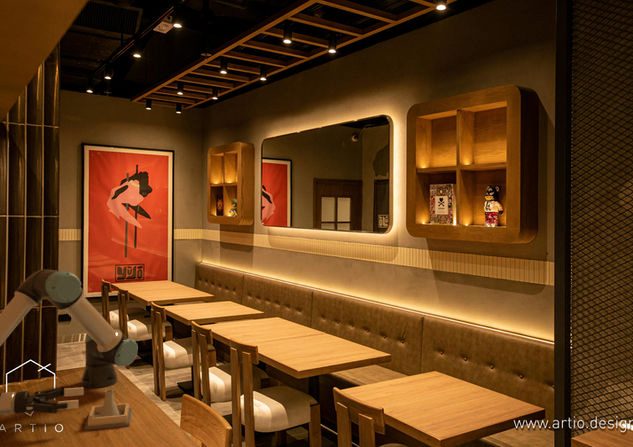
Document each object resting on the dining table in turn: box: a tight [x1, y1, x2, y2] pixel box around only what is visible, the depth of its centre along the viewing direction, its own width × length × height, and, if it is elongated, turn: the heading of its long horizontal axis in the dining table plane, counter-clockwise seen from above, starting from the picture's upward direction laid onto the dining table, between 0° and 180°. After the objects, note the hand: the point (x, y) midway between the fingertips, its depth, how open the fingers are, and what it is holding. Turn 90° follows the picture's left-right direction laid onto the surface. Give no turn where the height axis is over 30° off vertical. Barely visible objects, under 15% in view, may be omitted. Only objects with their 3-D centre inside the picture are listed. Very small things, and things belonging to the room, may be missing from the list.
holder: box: [84, 402, 133, 431], centre depth 194 cm, size 15×15×4 cm
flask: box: [99, 388, 120, 417], centre depth 194 cm, size 7×7×10 cm
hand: (80, 397), depth 191 cm, fingers open, 13 cm apart
